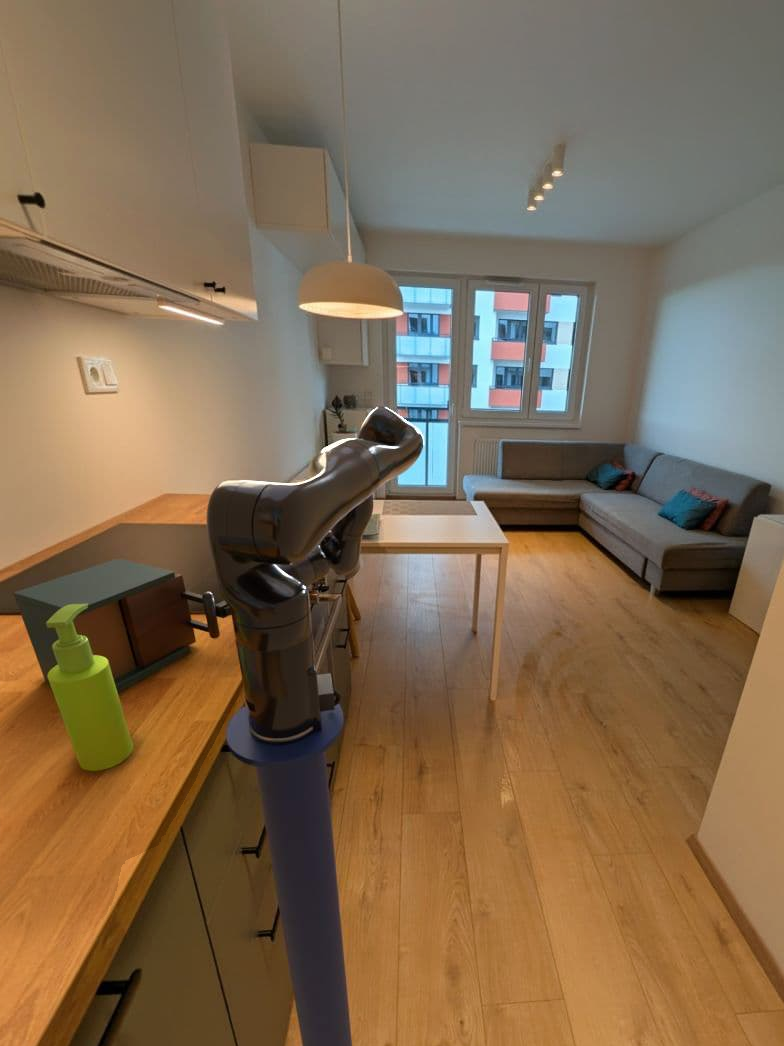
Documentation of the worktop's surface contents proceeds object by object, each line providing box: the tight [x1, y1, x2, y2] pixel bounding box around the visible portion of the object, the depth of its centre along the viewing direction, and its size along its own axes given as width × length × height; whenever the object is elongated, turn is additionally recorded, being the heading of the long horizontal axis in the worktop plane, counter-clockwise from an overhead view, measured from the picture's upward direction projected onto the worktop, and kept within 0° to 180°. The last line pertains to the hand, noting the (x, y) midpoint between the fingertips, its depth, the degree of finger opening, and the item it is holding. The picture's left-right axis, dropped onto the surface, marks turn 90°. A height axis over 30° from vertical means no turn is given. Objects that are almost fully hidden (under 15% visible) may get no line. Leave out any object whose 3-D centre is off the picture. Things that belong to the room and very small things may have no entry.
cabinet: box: [13, 558, 192, 694], centre depth 80 cm, size 13×16×15 cm
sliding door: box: [120, 572, 221, 669], centre depth 82 cm, size 8×10×13 cm
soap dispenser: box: [46, 604, 134, 772], centre depth 61 cm, size 6×7×20 cm
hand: (217, 612), depth 85 cm, fingers closed
